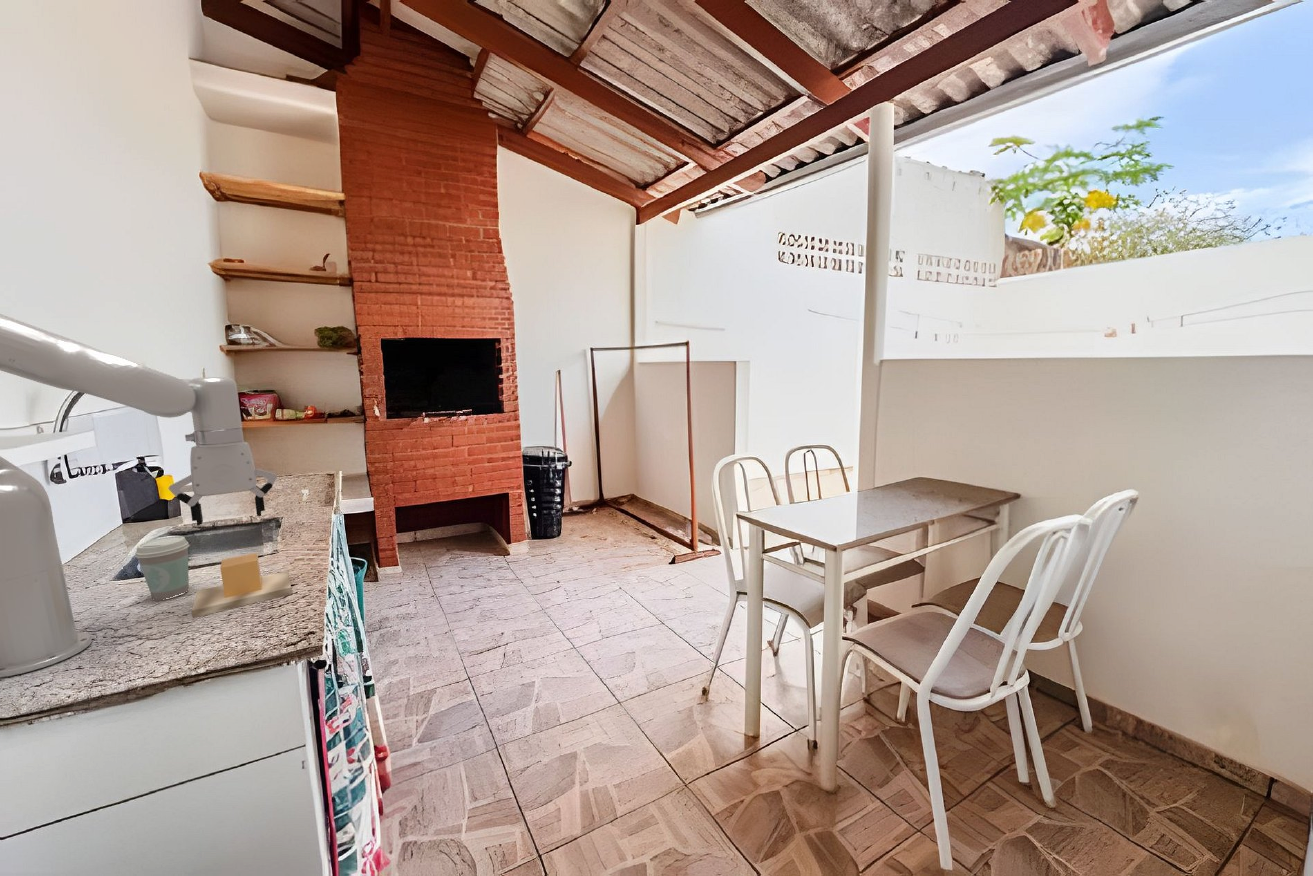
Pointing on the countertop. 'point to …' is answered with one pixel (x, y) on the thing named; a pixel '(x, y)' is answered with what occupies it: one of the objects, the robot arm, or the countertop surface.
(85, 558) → the countertop surface
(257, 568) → the tan matte cube
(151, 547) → the coffee cup
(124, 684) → the countertop surface
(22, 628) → the robot arm
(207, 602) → the post board
